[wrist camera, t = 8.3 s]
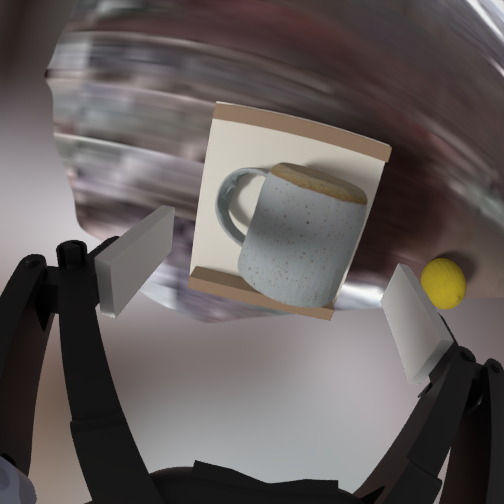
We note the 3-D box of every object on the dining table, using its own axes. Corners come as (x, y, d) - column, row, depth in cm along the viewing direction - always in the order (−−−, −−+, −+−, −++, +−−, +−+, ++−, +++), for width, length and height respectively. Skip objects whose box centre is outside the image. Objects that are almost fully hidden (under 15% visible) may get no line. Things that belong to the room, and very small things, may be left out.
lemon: (420, 292, 33) (442, 329, 26) (406, 262, 32) (431, 298, 25) (451, 271, 32) (479, 303, 24) (440, 239, 30) (471, 269, 23)
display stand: (364, 139, 27) (398, 147, 18) (324, 270, 34) (334, 323, 25) (234, 107, 27) (209, 99, 18) (210, 243, 34) (182, 288, 25)
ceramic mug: (361, 180, 21) (391, 207, 14) (328, 269, 25) (339, 323, 18) (231, 143, 21) (202, 152, 14) (212, 236, 25) (181, 280, 18)
